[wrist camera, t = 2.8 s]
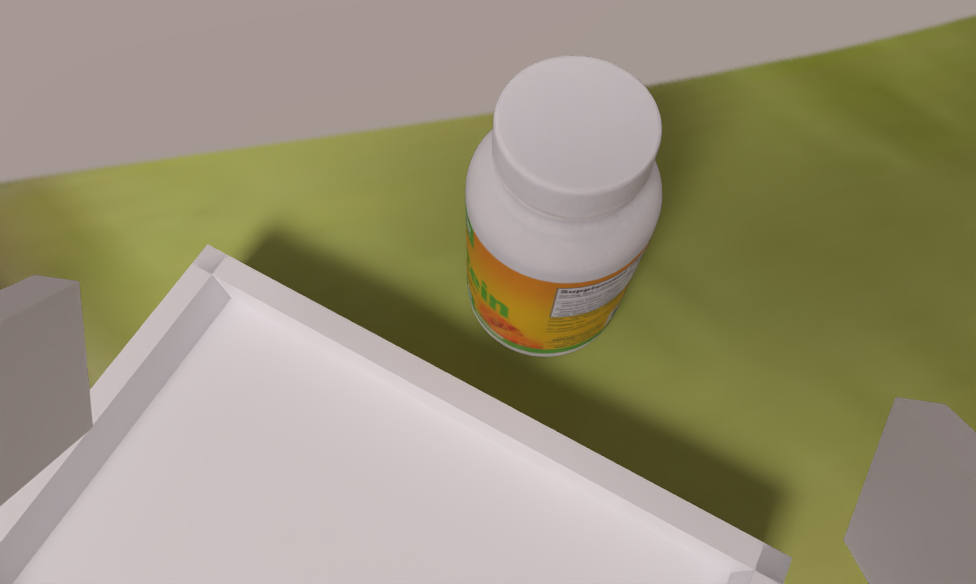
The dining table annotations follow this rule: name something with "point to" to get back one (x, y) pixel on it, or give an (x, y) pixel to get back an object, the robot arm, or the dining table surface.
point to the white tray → (335, 469)
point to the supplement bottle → (561, 203)
